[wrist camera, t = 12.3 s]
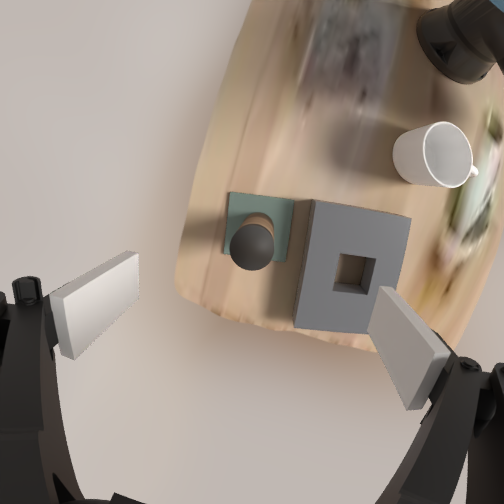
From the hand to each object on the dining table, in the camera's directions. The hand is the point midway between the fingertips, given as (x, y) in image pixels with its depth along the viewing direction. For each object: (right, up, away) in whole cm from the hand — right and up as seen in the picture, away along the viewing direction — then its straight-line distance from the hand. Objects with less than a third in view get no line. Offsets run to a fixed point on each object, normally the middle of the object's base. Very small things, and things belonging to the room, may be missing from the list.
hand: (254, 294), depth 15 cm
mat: (+1, +6, +27) cm, 27 cm away
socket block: (+14, 0, +27) cm, 31 cm away
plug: (+1, +6, +26) cm, 27 cm away
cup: (+26, +16, +22) cm, 38 cm away
